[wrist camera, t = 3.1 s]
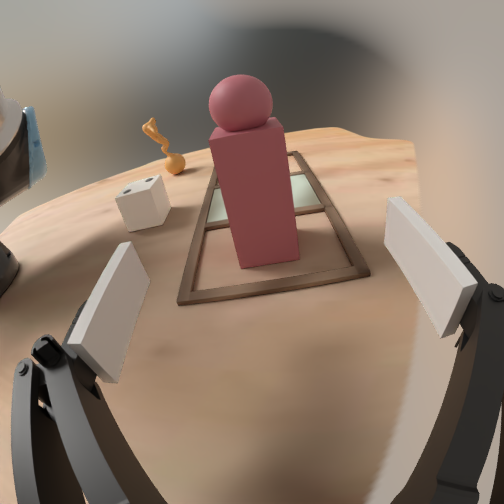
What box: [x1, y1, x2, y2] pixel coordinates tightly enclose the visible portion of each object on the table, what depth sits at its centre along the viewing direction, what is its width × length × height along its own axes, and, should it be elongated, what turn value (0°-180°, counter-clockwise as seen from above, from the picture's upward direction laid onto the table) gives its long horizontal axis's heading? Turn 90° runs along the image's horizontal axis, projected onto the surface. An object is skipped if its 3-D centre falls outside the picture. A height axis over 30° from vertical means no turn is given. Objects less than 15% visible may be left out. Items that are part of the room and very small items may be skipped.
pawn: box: [209, 75, 300, 269], centre depth 21 cm, size 5×5×15 cm
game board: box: [177, 151, 370, 306], centre depth 34 cm, size 15×34×1 cm, turn 1°
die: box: [115, 174, 171, 232], centre depth 34 cm, size 5×5×5 cm
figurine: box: [142, 118, 185, 174], centre depth 47 cm, size 8×6×12 cm
